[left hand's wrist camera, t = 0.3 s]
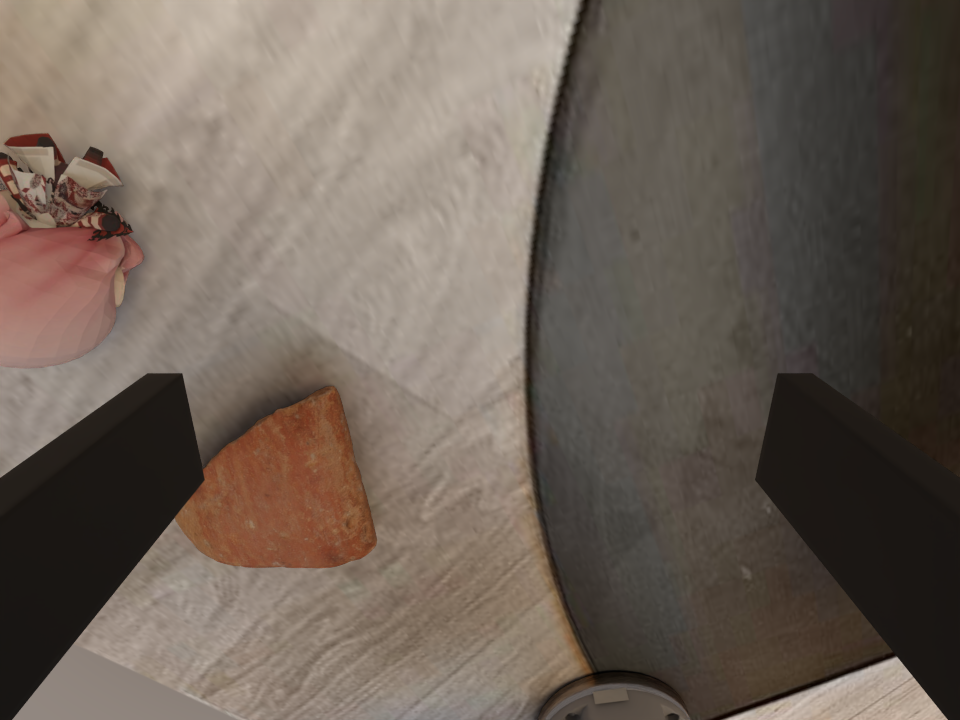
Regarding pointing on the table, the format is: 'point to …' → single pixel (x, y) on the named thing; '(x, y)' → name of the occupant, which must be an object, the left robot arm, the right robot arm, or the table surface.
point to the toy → (58, 254)
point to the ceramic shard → (284, 493)
